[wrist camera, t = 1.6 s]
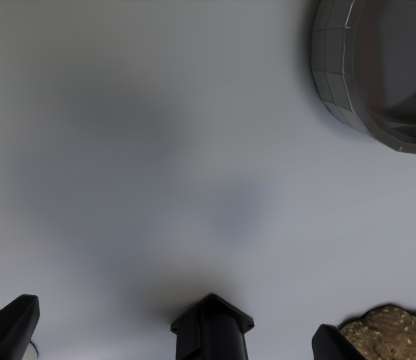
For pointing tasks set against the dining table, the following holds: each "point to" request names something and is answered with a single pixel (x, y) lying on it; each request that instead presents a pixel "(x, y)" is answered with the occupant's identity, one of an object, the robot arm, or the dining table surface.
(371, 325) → the bread roll
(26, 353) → the milk bottle
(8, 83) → the dining table surface
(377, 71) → the pan
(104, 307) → the dining table surface
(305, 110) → the dining table surface
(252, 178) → the dining table surface
